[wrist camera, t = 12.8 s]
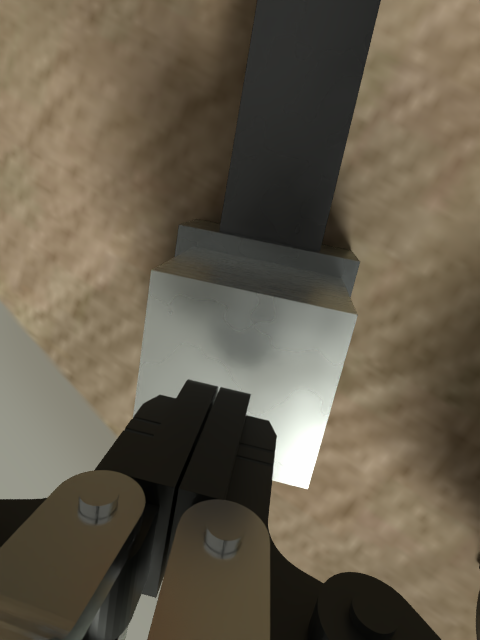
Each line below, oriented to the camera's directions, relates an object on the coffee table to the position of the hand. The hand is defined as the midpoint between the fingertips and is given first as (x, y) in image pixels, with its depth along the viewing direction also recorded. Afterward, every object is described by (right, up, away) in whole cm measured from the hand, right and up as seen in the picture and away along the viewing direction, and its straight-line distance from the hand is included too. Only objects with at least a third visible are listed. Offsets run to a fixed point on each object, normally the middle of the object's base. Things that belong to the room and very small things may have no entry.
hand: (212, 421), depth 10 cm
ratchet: (+3, +8, +8) cm, 12 cm away
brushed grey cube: (+1, +2, +7) cm, 8 cm away
